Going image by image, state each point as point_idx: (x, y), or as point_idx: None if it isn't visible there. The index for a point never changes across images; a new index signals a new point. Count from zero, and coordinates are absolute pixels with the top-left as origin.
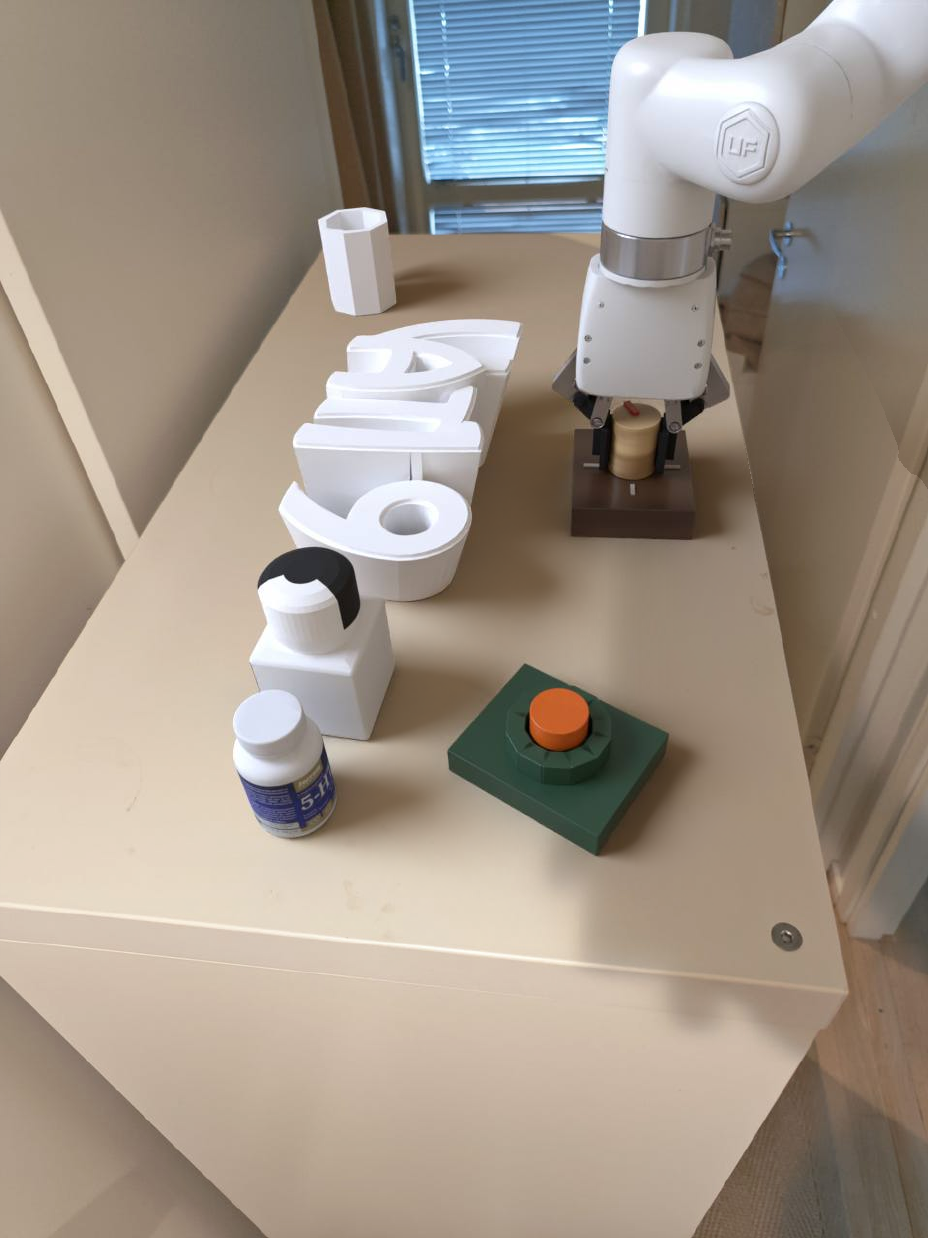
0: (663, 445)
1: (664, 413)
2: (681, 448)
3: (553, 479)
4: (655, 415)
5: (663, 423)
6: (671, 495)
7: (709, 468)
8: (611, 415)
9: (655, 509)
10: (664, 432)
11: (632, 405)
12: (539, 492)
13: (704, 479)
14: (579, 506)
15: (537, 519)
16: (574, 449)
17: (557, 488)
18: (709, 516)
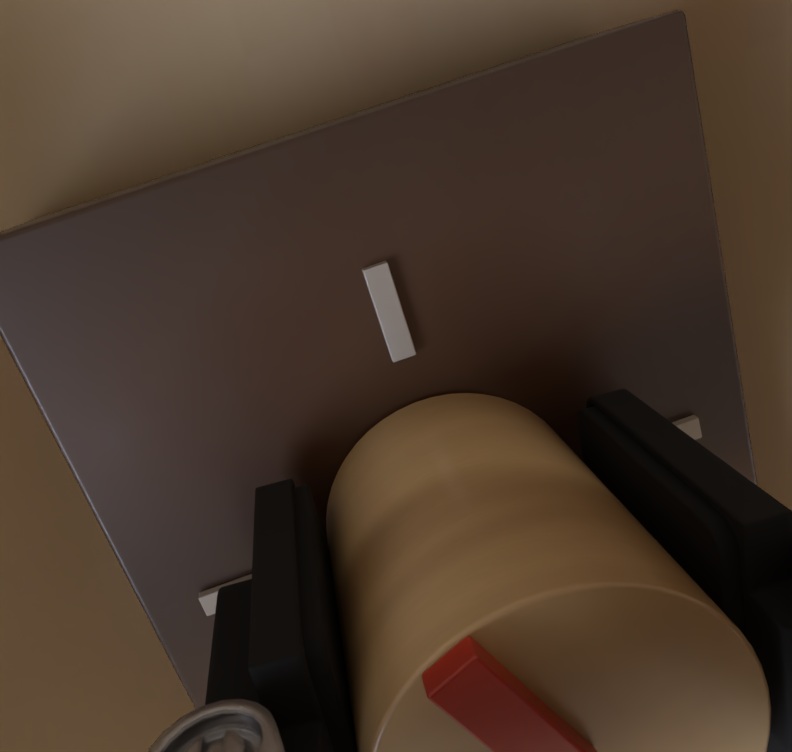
0: None
1: (789, 643)
2: (684, 240)
3: (32, 455)
4: (723, 703)
5: (786, 748)
6: None
7: (737, 86)
8: (329, 691)
9: None
10: (770, 741)
11: (526, 718)
12: (21, 568)
13: (720, 191)
14: None
15: (110, 720)
16: (79, 480)
17: (87, 511)
18: (756, 441)
